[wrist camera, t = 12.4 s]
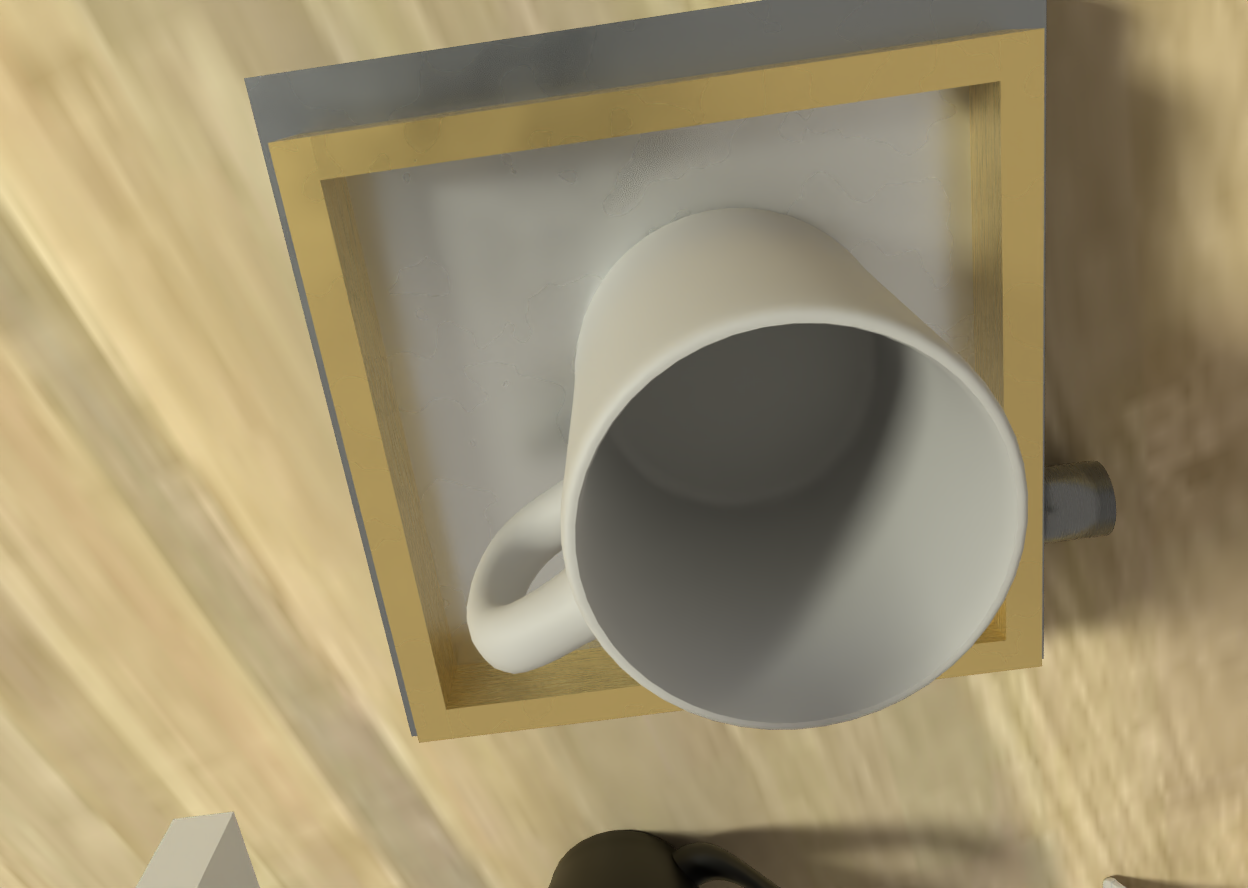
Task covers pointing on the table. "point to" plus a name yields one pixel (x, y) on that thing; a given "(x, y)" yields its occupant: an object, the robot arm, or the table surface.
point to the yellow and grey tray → (603, 232)
